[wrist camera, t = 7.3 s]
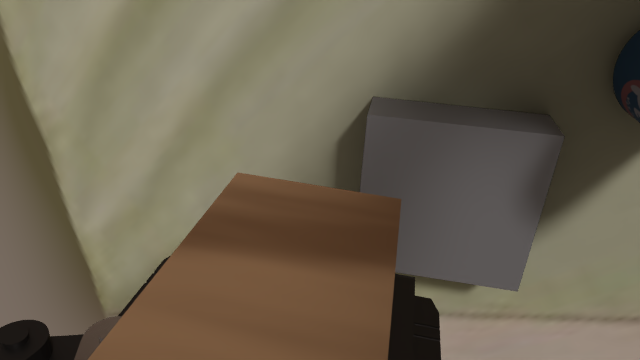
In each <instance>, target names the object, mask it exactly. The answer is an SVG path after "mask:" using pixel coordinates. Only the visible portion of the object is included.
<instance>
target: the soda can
mask: <svg viewBox="0 0 640 360" xmlns="http://www.w3.org/2000/svg"><path fill="white" fill-rule="evenodd" d="M613 87H614V92H615V95H616V98H617V100H618V102H619V103H620V105H621V106H622V108H623V109H624V110H625V111H626V112H627V113H629V114H630V115H631V116H632V117H633V118H635V119H636V120H637V121H638V122H639V123H640V30H639V31H638V32H637V33H636V34H635V35H634V36H633V37H632V38H631V39H630V40H629V41H628V43H627V44H626V45H625V47H624V48H623V50H622V51H621V53H620V55H619V57H618V59H617V62H616V65H615V68H614V74H613Z"/></svg>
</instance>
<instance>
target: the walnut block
mask: <svg viewBox="0 0 640 360" xmlns="http://www.w3.org/2000/svg"><path fill="white" fill-rule="evenodd" d="M400 210H401V199H398V198H392V197H386V196H379V195H373V194H367V193H361V192H355V191H348V190H342V189H336V188H330V187H324V186H317V185H311V184H305V183H299V182H293V181H287V180H280V179H274V178H268V177H262V176H256V175H249V174H243V173H237V174H236V175H235V177H234V178H233V179H232V180H231V182H230V183H229V184H228V185H227V187H226V188H225V189H224V190H223V192H222V193H221V194H220V195H219V196H218V198H217V199H216V200H215V201H214V203H213V204H212V205H211V206H210V208H209V209H208V210H207V211H206V213H205V214H204V215H203V216H202V218H201V219H200V220H199V221H198V223H197V224H196V225H195V226H194V228H193V229H192V230H191V231H190V233H189V234H188V235H187V236H186V238H185V239H184V240H183V241H182V243H181V244H180V245H179V246H178V248H177V249H176V250H175V251H174V253H173V254H172V255H171V256H170V258H169V259H168V260H167V261H166V262H165V264H164V265H163V266H162V267H161V269H160V270H159V271H158V272H157V274H156V275H155V276H154V277H153V279H152V280H151V281H150V282H149V284H148V285H147V286H146V287H145V289H144V290H143V291H142V292H141V294H140V295H139V296H138V297H137V299H136V300H135V301H134V302H133V304H132V305H131V306H130V307H129V309H128V310H127V311H126V312H125V314H124V315H123V316H122V317H121V319H120V320H119V321H118V322H117V324H116V325H115V326H114V327H113V328H112V330H111V331H110V332H109V333H108V335H107V336H106V337H105V338H104V340H103V341H102V342H101V343H100V345H99V346H98V347H97V348H96V350H95V351H94V352H93V353H92V355H91V356H90V357H89V358H88V360H388V350H389V338H390V326H391V315H392V303H393V291H394V280H395V268H396V256H397V245H398V233H399V222H400Z"/></svg>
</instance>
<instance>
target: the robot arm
mask: <svg viewBox="0 0 640 360" xmlns="http://www.w3.org/2000/svg"><path fill="white" fill-rule="evenodd" d="M169 258H170V256H169V257H167V258H166V259H164V260H163V261H162V263H161V264H160V265H159V266H158V268H157V269H156V270H155V272H154V274H152V275H151V276H150V277H149V279H148V280H147V283H145V284H144V285H143V286H142V287H141V288H140V290H139V291H138V292H137V293H136V295H135V296H134V297H133V298H132V299H131V301H130V302H129V303H128V304H127V306H126V307H125V308H124V309H123V311H122V312H121V313H120V314H119V315H118V316H115V317H109V318H106V319H103V320H101V321H99V322H97V323H95V324H93V325H92V326H91V327H90V328H89V329H88V330H87V331H86V332H85V333H84V334H83V335H69V336H51V337H50V334H49V330H48V328H47V326H46V325H45V324H44V323H42V322H40V321H36V320H21V321H16V322H13V323H10V324H7V325H5V326H3V327H1V328H0V360H88V358H89V357H90V356H91V355H92V353H93V352H94V351H95V350H96V348H97V347H98V346H99V345H100V343H101V342H102V341H103V340H104V338H105V337H106V336H107V335H108V333H109V332H110V331H111V330H112V328H113V327H114V326H115V325H116V324H117V322H118V321H119V320H120V319H121V317H122V316H123V315H124V314H125V312H126V311H127V310H128V309H129V307H130V306H131V305H132V304H133V302H134V301H135V300H136V299H137V297H138V296H139V295H140V294H141V292H142V291H143V290H144V289H145V287H146V286H147V285H148V284H149V282H150V281H151V280H152V279H153V277H154V276H155V275H156V274H157V272H158V271H159V270H160V269H161V267H162V266H163V265H164V264H165V262H166V261H167V260H168V259H169ZM439 328H440V324H439V312H438V310H437V308H436V307H435V305H434V303H433V301H432V300H431V299H430V298H424V297H419V296H415V277H410V276H404V275H399V274H395V280H394V291H393V303H392V315H391V326H390V338H389V350H388V360H441V348H440V330H439Z"/></svg>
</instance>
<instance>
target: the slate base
mask: <svg viewBox="0 0 640 360" xmlns="http://www.w3.org/2000/svg"><path fill="white" fill-rule="evenodd" d="M564 137H565V136H564V135H563V133H562V132H561V130H560V129H559V128H558V126H557V125H556V124H555V122H554V121H553V119H552V118H551V117H550V115H543V114H534V113H524V112H514V111H505V110H495V109H486V108H476V107H467V106H457V105H447V104H438V103H428V102H419V101H409V100H400V99H390V98H380V97H373V99H372V102H371V105H370V108H369V111H368V114H367V124H366V134H365V144H364V154H363V164H362V174H361V184H360V192H361V193H367V194H373V195H379V196H386V197H392V198H398V199H401V210H400V222H399V233H398V245H397V256H396V268H395V272H397V273H403V274H410V275H416V276H422V277H429V278H435V279H441V280H448V281H454V282H460V283H467V284H473V285H480V286H486V287H492V288H499V289H505V290H511V291H518V289H519V285H520V282H521V279H522V275H523V272H524V269H525V266H526V262H527V259H528V256H529V252H530V249H531V246H532V242H533V239H534V236H535V233H536V229H537V226H538V223H539V219H540V216H541V213H542V210H543V206H544V203H545V200H546V196H547V193H548V190H549V186H550V183H551V180H552V177H553V173H554V170H555V167H556V163H557V160H558V157H559V154H560V150H561V147H562V144H563V140H564Z"/></svg>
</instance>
